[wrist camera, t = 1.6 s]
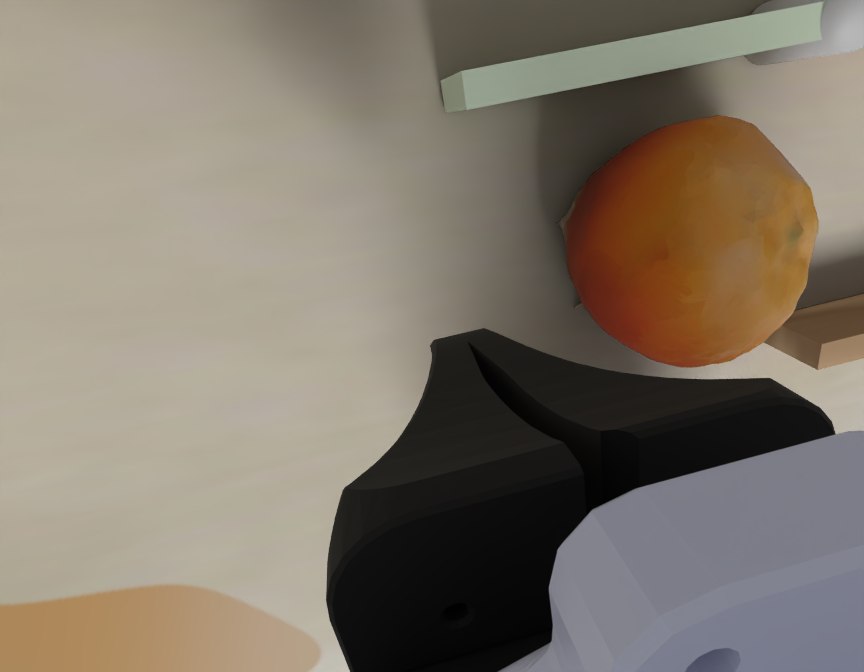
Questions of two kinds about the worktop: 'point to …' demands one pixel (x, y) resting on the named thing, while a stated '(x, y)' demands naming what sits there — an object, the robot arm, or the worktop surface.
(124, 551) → the worktop surface
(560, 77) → the gate
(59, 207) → the worktop surface
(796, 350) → the cradle
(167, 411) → the worktop surface
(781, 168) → the fruit
